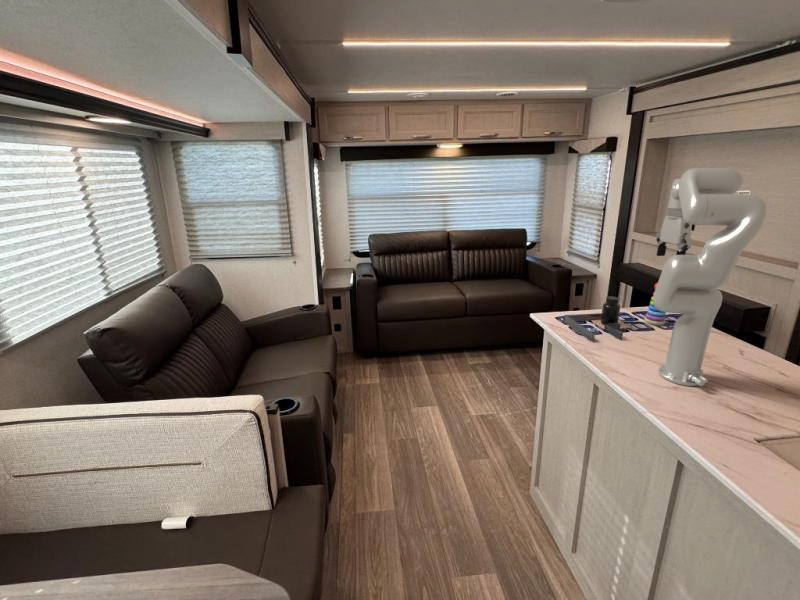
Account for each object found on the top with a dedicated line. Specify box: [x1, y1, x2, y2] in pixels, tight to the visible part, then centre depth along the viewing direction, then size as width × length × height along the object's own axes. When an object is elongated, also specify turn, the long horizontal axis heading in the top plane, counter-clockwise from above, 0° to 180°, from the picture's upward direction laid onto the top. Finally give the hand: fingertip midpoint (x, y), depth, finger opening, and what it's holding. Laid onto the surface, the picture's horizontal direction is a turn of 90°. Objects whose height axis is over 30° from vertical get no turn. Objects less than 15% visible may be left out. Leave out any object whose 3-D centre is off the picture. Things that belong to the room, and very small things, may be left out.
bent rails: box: [562, 312, 624, 342], centre depth 172 cm, size 22×18×3 cm
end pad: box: [591, 319, 632, 330], centre depth 177 cm, size 10×12×1 cm
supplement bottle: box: [601, 295, 621, 325], centre depth 175 cm, size 7×7×12 cm
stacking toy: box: [643, 282, 667, 326], centre depth 176 cm, size 8×8×19 cm
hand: (669, 258), depth 155 cm, fingers open, 9 cm apart
